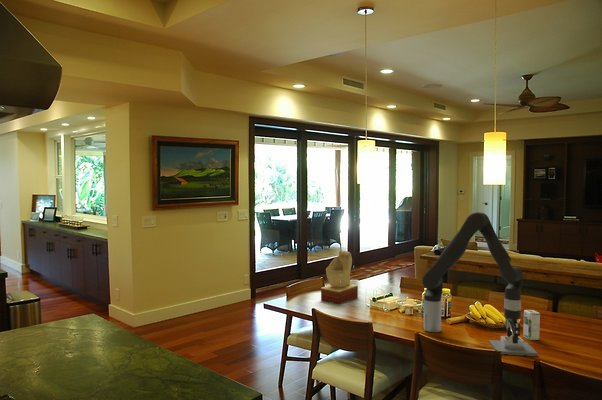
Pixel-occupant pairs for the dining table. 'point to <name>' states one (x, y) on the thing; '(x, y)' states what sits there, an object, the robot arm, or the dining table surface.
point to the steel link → (508, 343)
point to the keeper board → (510, 351)
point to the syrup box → (531, 324)
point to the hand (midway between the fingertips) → (512, 340)
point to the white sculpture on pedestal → (340, 281)
